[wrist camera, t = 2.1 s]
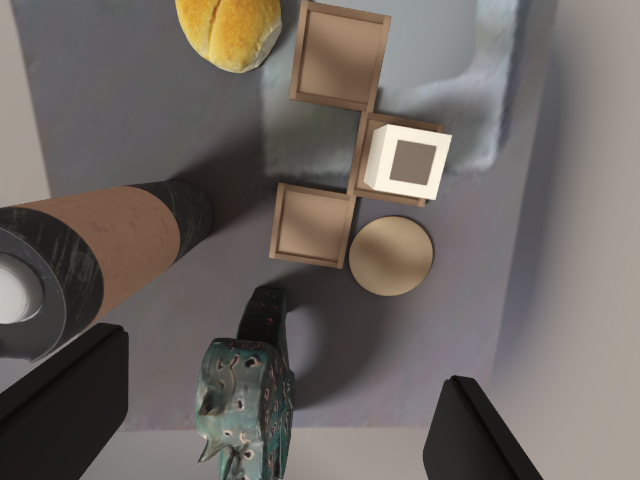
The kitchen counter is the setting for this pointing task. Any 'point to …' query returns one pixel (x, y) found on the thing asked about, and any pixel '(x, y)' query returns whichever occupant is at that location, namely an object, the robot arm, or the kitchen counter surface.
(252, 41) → the bread roll
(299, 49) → the tray
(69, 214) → the travel mug
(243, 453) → the ceramic cat
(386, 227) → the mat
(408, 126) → the tray
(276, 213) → the tray
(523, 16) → the kitchen counter surface
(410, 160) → the white box with panels
